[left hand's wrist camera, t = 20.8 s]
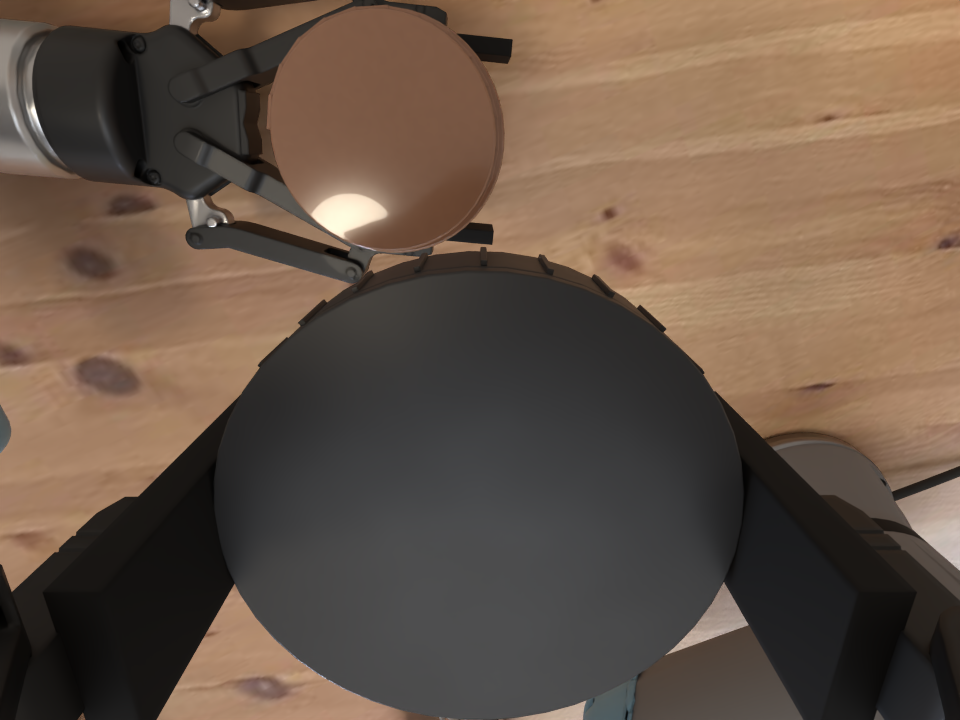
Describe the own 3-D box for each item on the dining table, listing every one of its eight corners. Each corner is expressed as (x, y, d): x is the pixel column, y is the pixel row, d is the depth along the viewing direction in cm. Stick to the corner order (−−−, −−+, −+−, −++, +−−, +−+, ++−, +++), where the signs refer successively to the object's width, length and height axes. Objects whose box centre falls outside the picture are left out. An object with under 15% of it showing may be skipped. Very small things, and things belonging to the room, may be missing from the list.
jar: (504, 84, 35) (534, 29, 18) (475, 219, 38) (478, 283, 21) (369, 52, 35) (267, -39, 17) (351, 192, 38) (249, 234, 20)
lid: (211, 581, 13) (167, 651, 11) (316, 168, 10) (278, 171, 8) (591, 687, 14) (608, 767, 13) (793, 348, 11) (857, 387, 9)
